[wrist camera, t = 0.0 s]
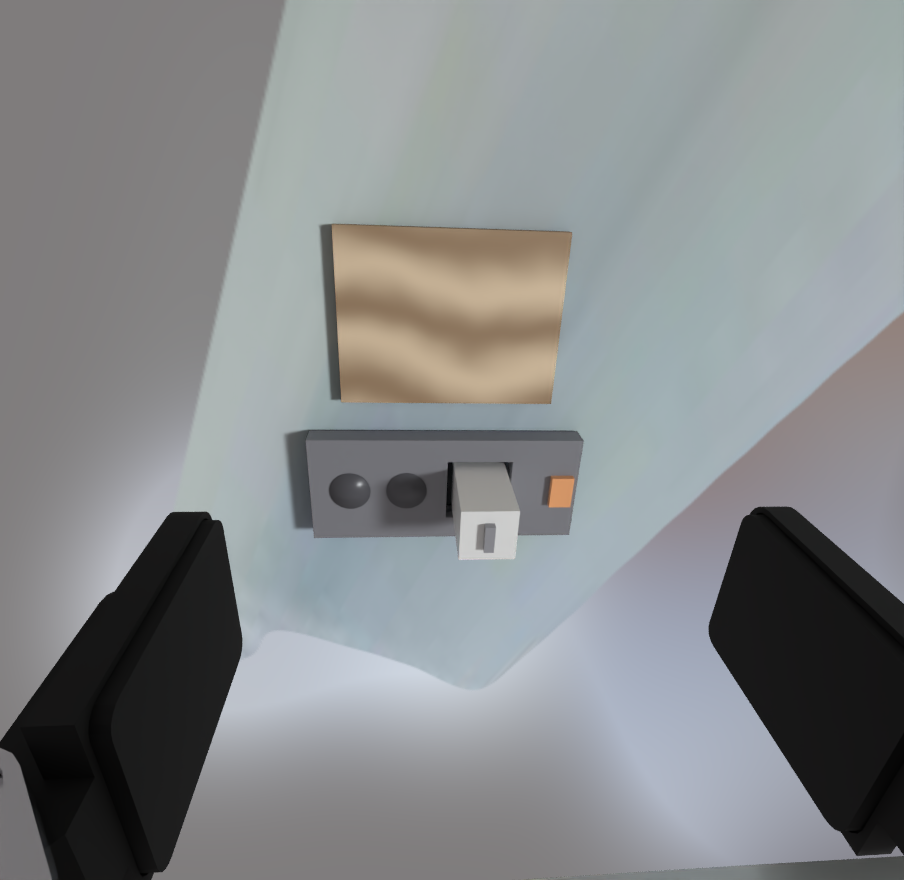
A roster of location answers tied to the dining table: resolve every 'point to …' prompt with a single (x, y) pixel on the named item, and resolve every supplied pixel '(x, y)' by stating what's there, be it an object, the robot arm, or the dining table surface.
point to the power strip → (434, 479)
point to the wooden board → (448, 313)
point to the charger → (484, 511)
